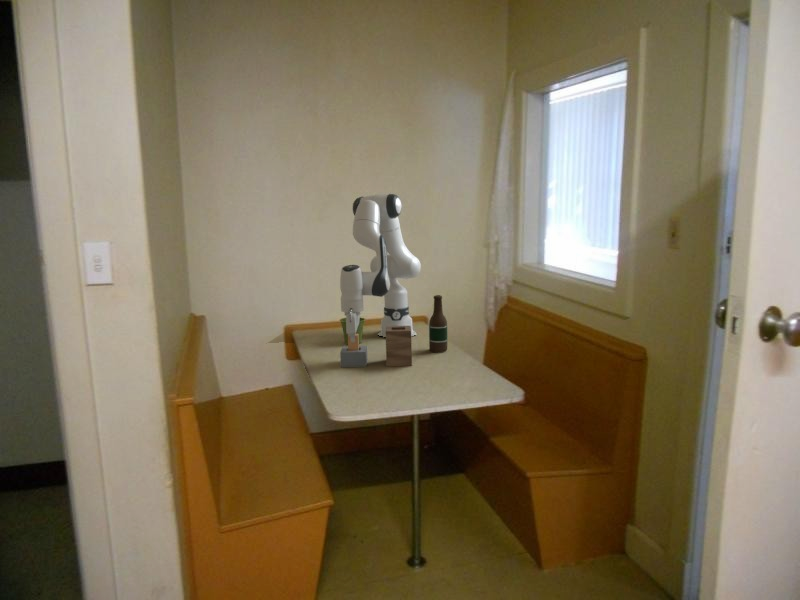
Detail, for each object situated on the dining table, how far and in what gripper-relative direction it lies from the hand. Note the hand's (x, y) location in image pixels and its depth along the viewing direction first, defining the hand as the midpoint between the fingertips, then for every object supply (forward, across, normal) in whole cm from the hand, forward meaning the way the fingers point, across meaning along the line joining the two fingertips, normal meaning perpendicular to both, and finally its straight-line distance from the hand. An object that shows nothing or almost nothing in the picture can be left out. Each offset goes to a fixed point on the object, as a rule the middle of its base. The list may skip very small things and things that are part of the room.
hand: (353, 340), depth 239 cm
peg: (+6, 0, 0) cm, 6 cm away
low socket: (+10, 0, 0) cm, 10 cm away
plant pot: (+10, +35, +3) cm, 37 cm away
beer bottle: (+10, +18, -35) cm, 41 cm away
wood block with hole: (+10, 0, -18) cm, 20 cm away
